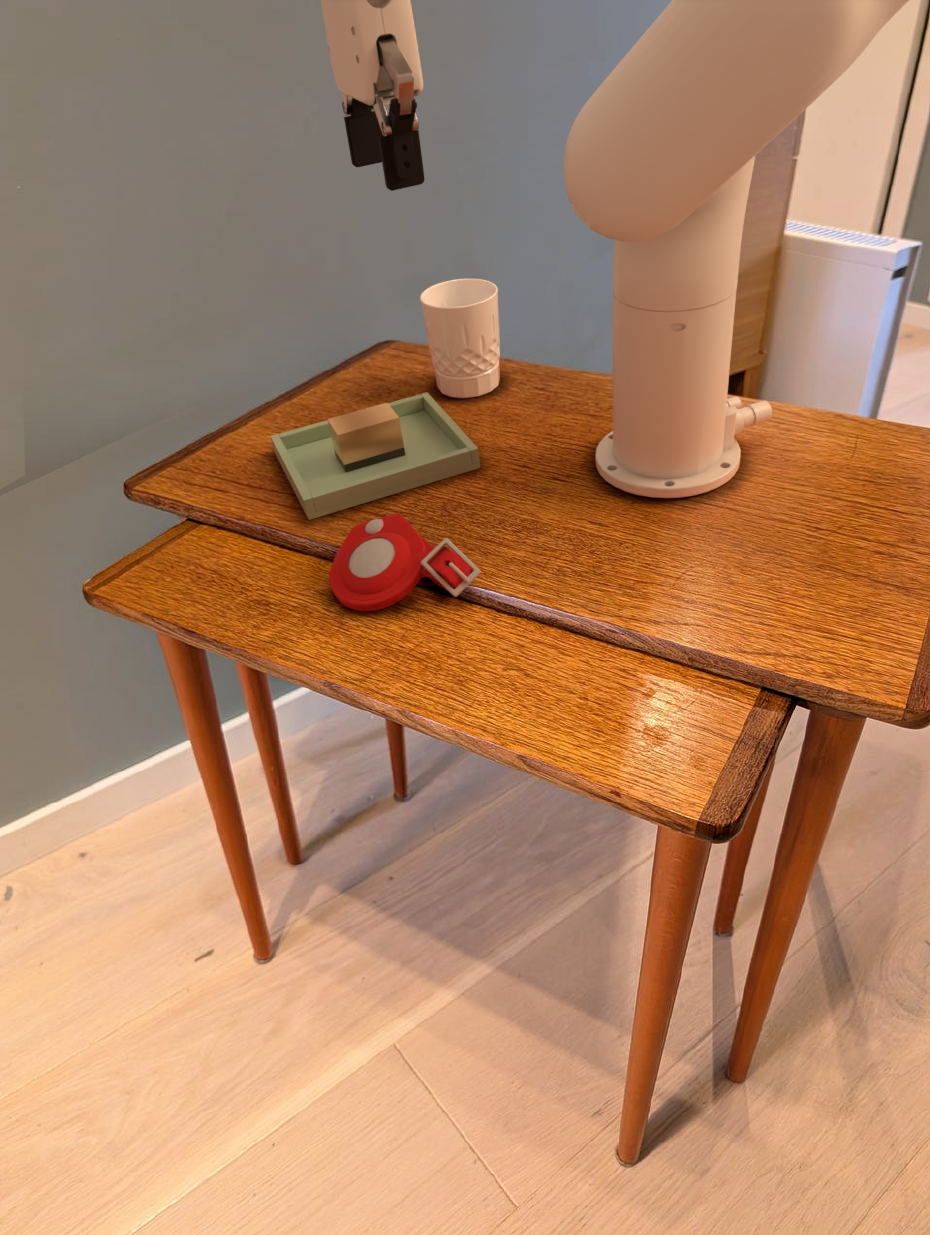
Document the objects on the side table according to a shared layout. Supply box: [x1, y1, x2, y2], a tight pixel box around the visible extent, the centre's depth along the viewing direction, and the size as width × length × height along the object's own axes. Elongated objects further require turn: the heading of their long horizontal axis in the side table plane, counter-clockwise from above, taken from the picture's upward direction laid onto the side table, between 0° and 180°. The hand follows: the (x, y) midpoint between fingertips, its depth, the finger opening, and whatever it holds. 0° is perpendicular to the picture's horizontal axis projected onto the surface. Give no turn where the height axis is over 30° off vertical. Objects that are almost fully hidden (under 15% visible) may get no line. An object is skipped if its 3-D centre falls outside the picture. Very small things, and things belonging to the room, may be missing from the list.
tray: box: [270, 391, 481, 521], centre depth 86 cm, size 17×14×2 cm
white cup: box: [419, 278, 501, 399], centre depth 94 cm, size 8×8×10 cm
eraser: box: [327, 402, 405, 472], centre depth 85 cm, size 6×4×4 cm, turn 112°
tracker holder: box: [328, 512, 482, 612], centre depth 70 cm, size 12×4×10 cm
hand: (387, 174), depth 77 cm, fingers open, 9 cm apart
